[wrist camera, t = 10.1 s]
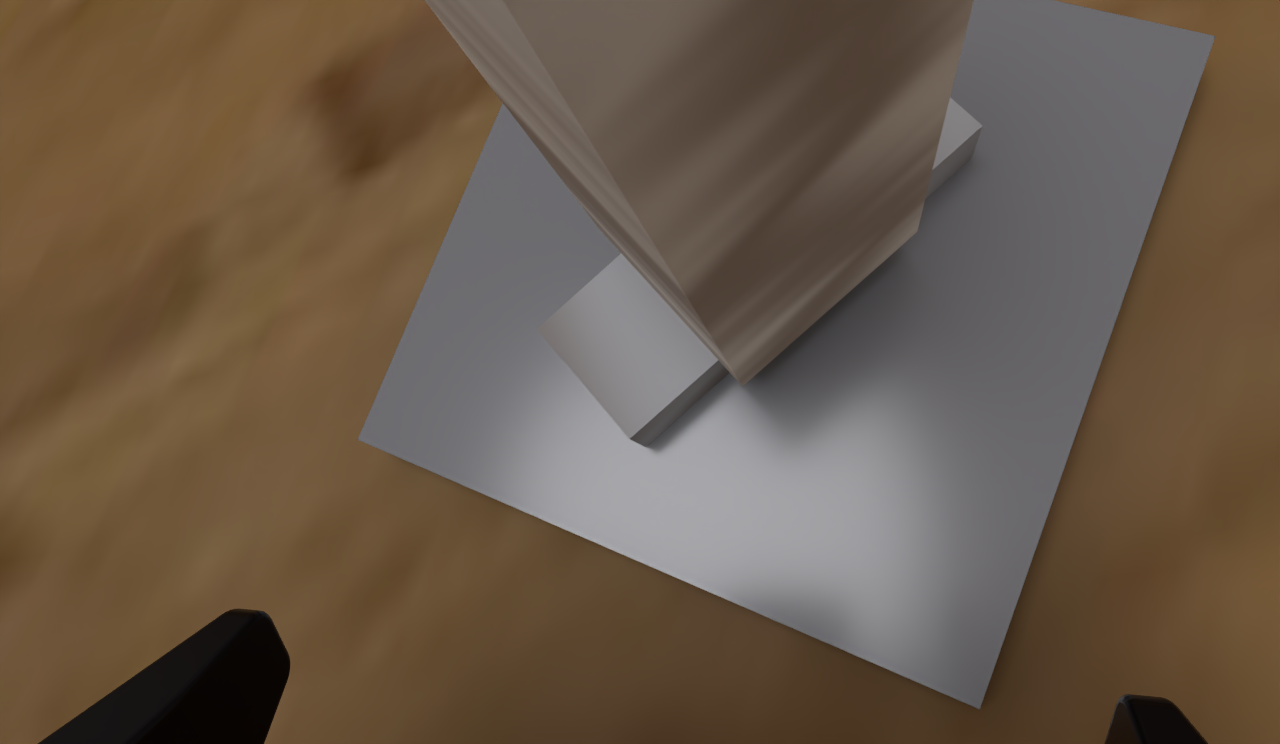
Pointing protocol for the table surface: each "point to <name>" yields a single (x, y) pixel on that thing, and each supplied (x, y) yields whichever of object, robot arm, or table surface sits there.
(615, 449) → the slate plate
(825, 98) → the upright block on base
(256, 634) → the robot arm
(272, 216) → the table surface
